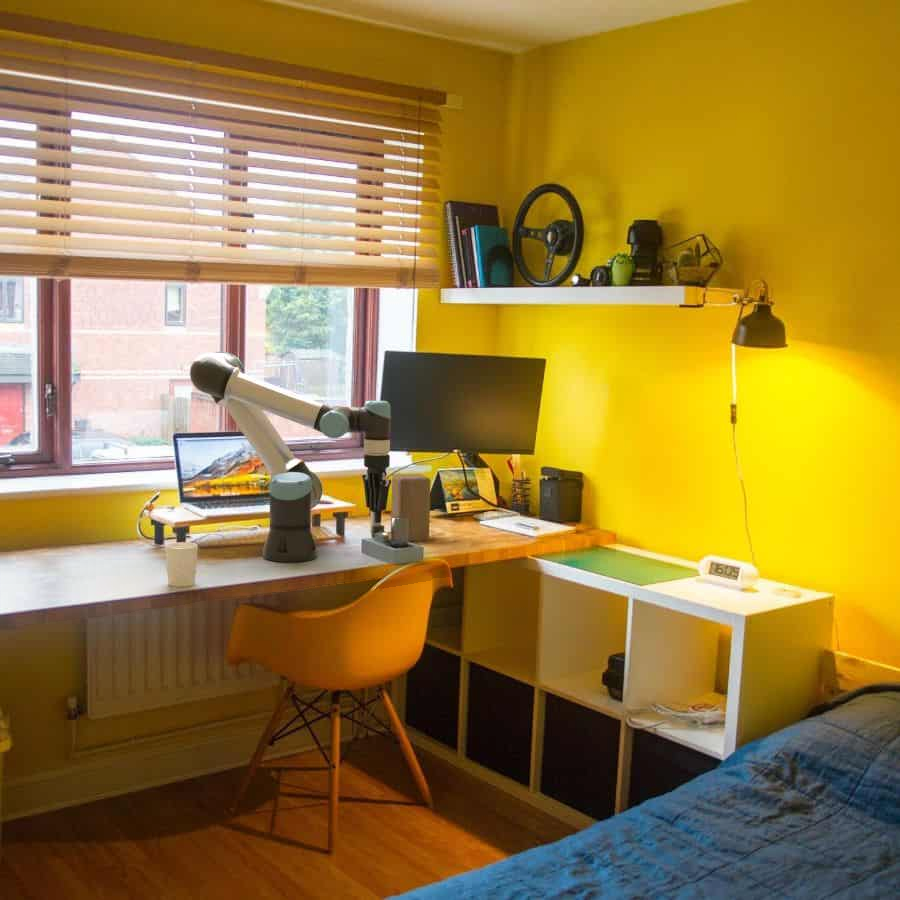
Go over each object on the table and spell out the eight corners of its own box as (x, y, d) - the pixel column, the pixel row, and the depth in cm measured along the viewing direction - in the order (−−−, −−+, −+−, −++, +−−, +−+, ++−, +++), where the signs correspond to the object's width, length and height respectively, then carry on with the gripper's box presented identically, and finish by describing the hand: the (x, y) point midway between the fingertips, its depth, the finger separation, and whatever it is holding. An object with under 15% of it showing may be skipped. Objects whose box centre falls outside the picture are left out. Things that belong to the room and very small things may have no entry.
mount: (393, 564, 306) (393, 542, 305) (361, 552, 321) (361, 531, 320) (423, 560, 311) (423, 539, 311) (390, 549, 326) (391, 528, 325)
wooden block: (389, 536, 345) (391, 473, 342) (420, 535, 348) (421, 473, 346) (398, 543, 335) (400, 478, 333) (430, 541, 339) (431, 477, 336)
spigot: (387, 558, 313) (387, 517, 312) (401, 556, 316) (402, 515, 315) (396, 561, 309) (397, 520, 308) (411, 560, 312) (412, 518, 311)
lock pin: (387, 543, 314) (387, 531, 314) (371, 537, 322) (371, 526, 321) (398, 542, 316) (398, 530, 316) (381, 536, 324) (382, 525, 323)
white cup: (192, 579, 283) (192, 541, 282) (201, 586, 276) (201, 547, 275) (162, 582, 279) (162, 543, 278) (170, 589, 272) (169, 549, 271)
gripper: (399, 455, 317) (397, 535, 320) (376, 450, 328) (375, 528, 331) (377, 456, 313) (375, 538, 316) (354, 451, 324) (353, 530, 326)
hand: (375, 532), depth 323 cm, fingers closed
